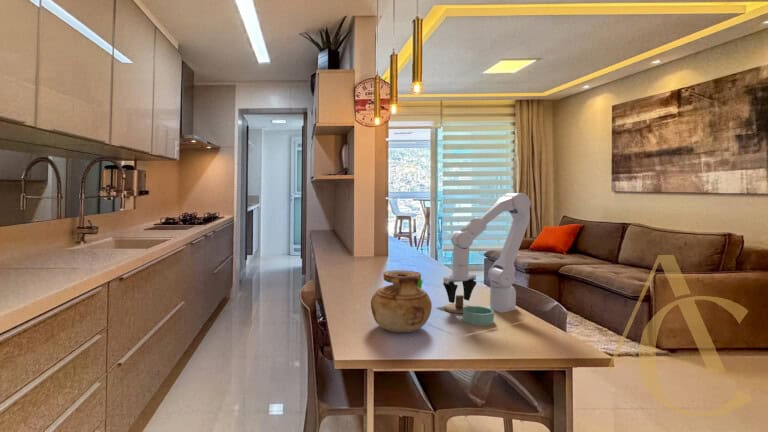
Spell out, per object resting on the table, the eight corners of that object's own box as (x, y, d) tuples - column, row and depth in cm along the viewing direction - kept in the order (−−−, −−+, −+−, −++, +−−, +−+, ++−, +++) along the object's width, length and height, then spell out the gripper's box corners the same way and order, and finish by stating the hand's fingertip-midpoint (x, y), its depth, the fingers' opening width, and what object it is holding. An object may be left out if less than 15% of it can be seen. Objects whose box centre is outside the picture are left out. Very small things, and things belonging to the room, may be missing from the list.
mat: (459, 304, 160) (459, 303, 160) (482, 312, 150) (482, 311, 150) (435, 309, 153) (435, 307, 153) (458, 317, 143) (458, 316, 143)
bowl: (477, 316, 145) (477, 304, 145) (499, 323, 137) (500, 311, 137) (456, 320, 140) (456, 308, 140) (478, 328, 132) (479, 316, 131)
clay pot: (354, 314, 134) (378, 256, 136) (402, 330, 141) (423, 275, 143) (377, 332, 116) (403, 265, 118) (430, 349, 123) (454, 286, 125)
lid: (459, 304, 159) (459, 291, 159) (480, 311, 150) (481, 297, 150) (437, 308, 153) (438, 294, 153) (458, 315, 144) (459, 301, 144)
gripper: (467, 261, 158) (465, 296, 159) (438, 263, 150) (436, 300, 151) (480, 264, 152) (479, 300, 153) (451, 267, 144) (450, 305, 145)
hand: (459, 301), depth 151 cm, fingers open, 7 cm apart
